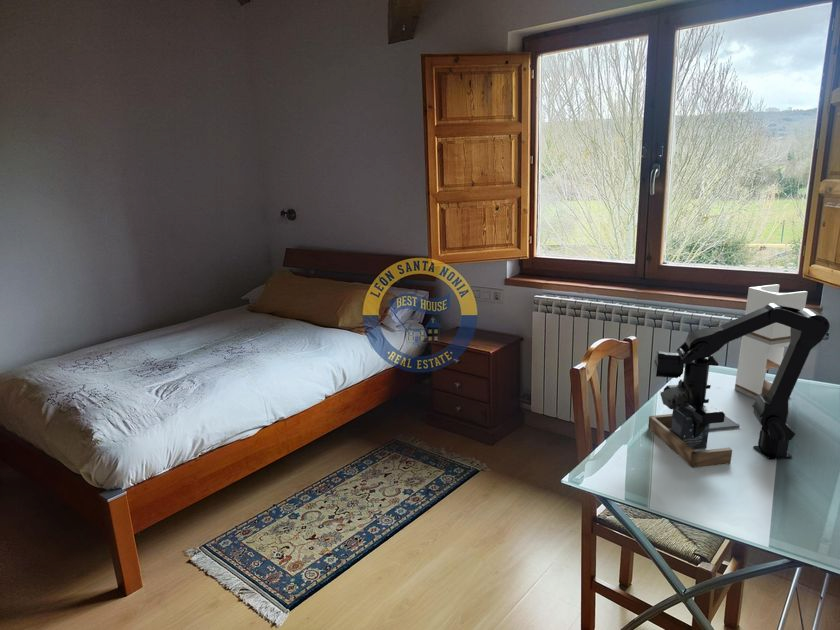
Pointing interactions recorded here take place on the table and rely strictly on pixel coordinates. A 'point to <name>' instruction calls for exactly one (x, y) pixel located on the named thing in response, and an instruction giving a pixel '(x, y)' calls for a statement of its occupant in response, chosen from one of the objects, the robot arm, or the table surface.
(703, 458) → the frame
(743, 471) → the table surface
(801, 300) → the display case
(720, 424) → the slate mat
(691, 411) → the box
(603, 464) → the table surface
